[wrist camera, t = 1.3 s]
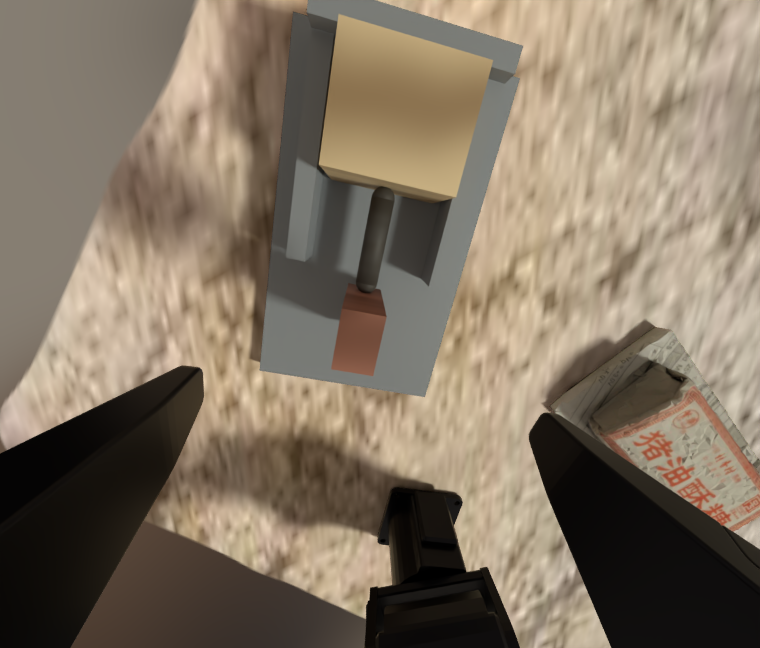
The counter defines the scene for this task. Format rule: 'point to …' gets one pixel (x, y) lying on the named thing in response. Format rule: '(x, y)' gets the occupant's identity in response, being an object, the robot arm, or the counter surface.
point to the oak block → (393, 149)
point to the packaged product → (669, 427)
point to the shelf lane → (350, 212)
